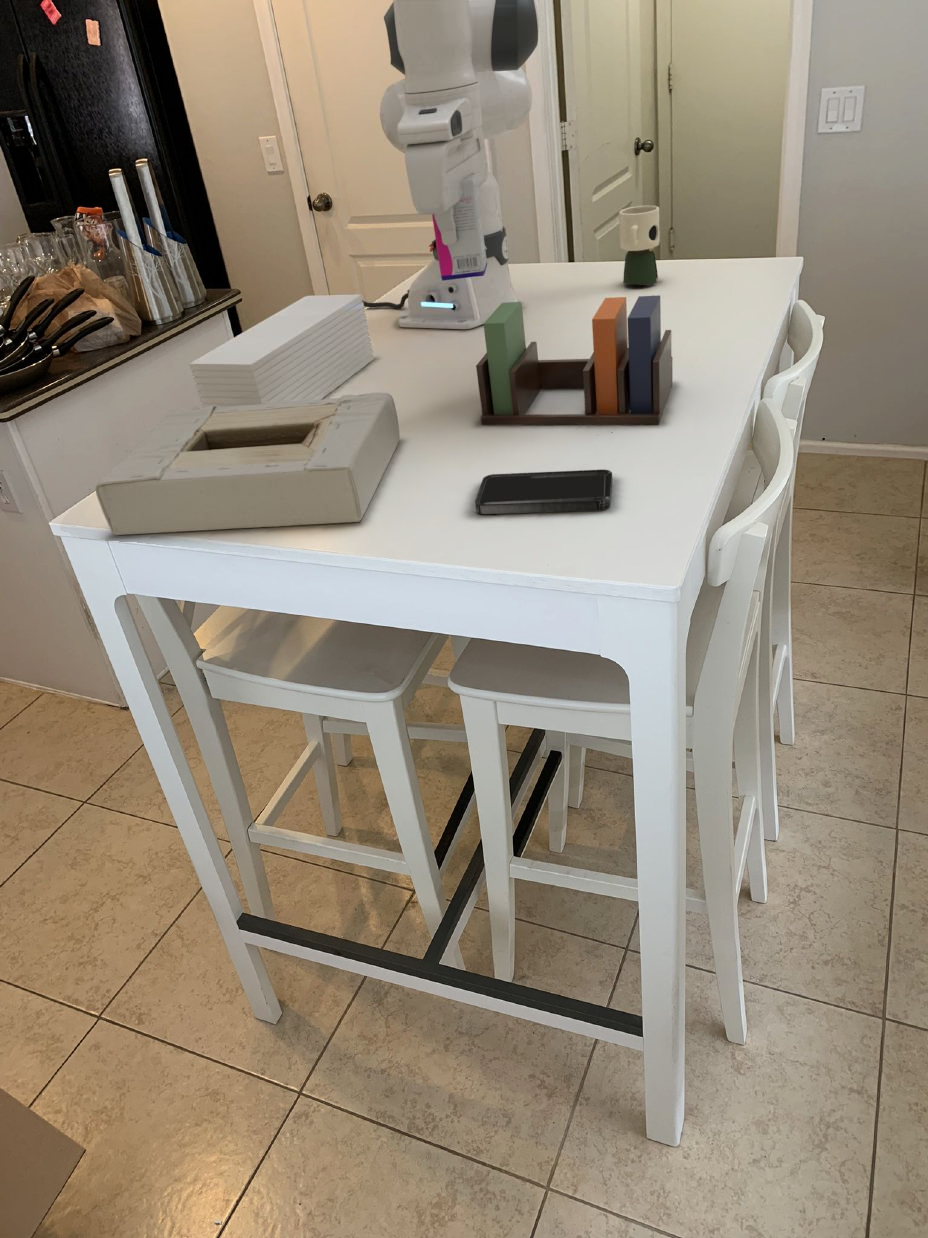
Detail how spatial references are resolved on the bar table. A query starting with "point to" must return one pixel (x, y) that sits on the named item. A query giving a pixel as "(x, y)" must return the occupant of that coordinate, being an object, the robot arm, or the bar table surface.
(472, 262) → the supplement box
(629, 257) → the character mug
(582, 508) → the phone
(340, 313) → the white long layered block
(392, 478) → the bar table surface
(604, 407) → the orange book
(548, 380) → the book rack
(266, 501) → the box
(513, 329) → the green book
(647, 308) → the navy book
